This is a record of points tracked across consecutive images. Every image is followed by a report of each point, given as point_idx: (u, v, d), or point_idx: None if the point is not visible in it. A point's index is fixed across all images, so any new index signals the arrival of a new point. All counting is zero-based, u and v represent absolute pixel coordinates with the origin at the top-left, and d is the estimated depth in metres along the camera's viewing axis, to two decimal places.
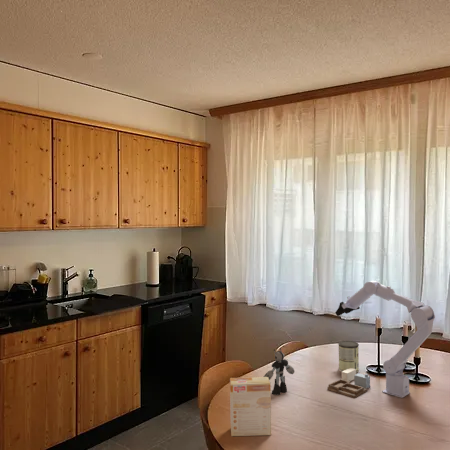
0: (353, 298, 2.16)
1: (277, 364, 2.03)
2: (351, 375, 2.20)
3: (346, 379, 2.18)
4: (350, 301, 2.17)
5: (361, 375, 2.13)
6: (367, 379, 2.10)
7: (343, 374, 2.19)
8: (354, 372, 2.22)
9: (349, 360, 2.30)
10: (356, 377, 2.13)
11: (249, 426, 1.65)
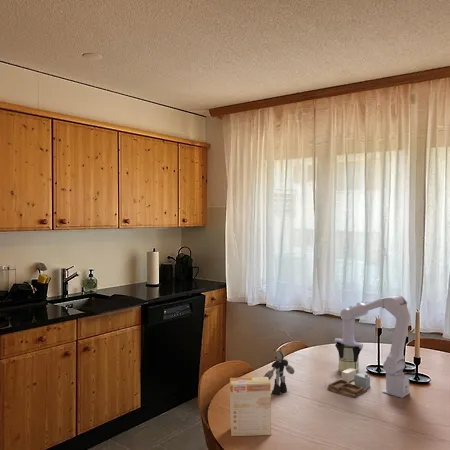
0: None
1: (277, 364, 2.03)
2: (351, 375, 2.20)
3: (346, 379, 2.18)
4: None
5: (361, 375, 2.13)
6: (367, 379, 2.10)
7: (343, 374, 2.19)
8: (354, 372, 2.22)
9: (349, 359, 2.30)
10: (356, 377, 2.13)
11: (249, 426, 1.65)
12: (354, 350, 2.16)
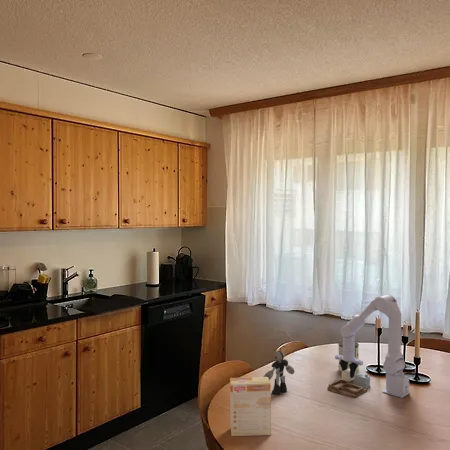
0: None
1: (277, 364, 2.03)
2: None
3: (346, 379, 2.18)
4: None
5: (361, 375, 2.13)
6: (367, 379, 2.10)
7: (343, 374, 2.19)
8: None
9: None
10: (356, 377, 2.13)
11: (249, 426, 1.65)
12: (351, 366, 2.17)
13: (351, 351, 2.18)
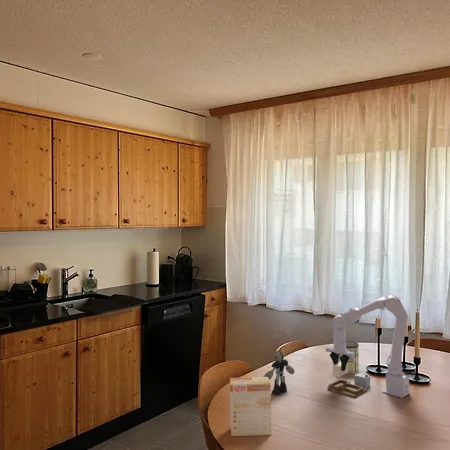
0: None
1: (277, 364, 2.03)
2: None
3: (337, 373, 2.08)
4: None
5: (361, 375, 2.13)
6: (367, 379, 2.10)
7: (334, 368, 2.09)
8: (346, 366, 2.12)
9: (349, 360, 2.30)
10: (356, 377, 2.13)
11: (249, 426, 1.65)
12: (342, 358, 2.07)
13: (342, 343, 2.08)
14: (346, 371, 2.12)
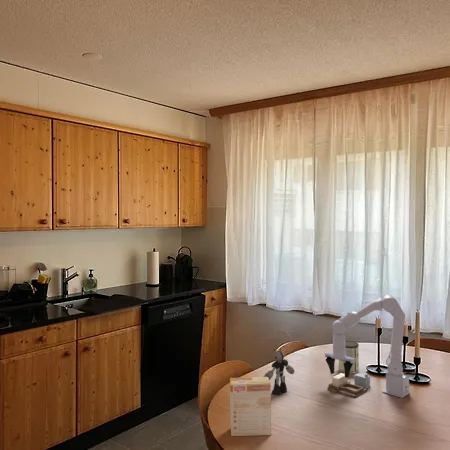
0: None
1: (277, 364, 2.03)
2: (342, 381, 2.09)
3: (337, 385, 2.07)
4: None
5: (361, 375, 2.13)
6: (367, 379, 2.10)
7: (334, 380, 2.08)
8: None
9: None
10: (356, 377, 2.13)
11: (249, 426, 1.65)
12: (345, 365, 2.05)
13: (342, 348, 2.07)
14: None
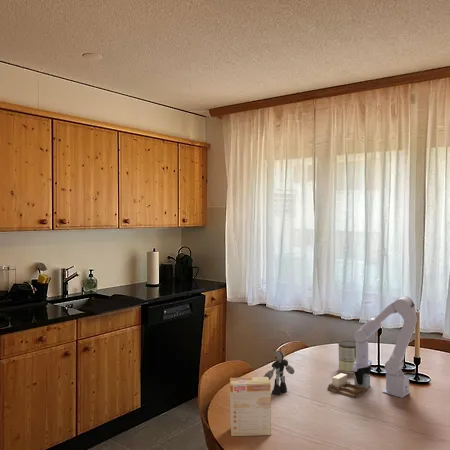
0: (357, 357, 2.11)
1: (277, 364, 2.03)
2: (342, 381, 2.09)
3: (337, 385, 2.07)
4: (357, 362, 2.11)
5: None
6: (367, 379, 2.10)
7: (334, 380, 2.08)
8: (345, 377, 2.11)
9: (349, 359, 2.30)
10: None
11: (249, 426, 1.65)
12: (370, 369, 2.13)
13: None
14: None
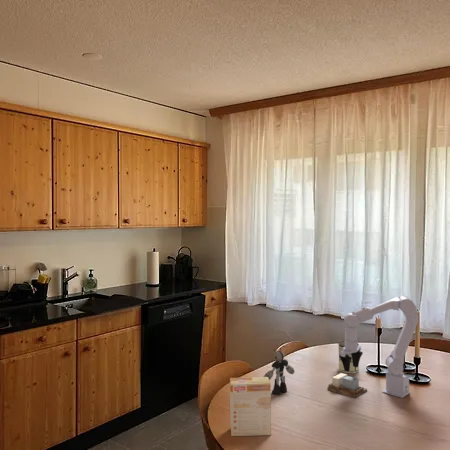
0: (346, 342, 2.07)
1: (277, 364, 2.03)
2: (342, 381, 2.09)
3: (337, 385, 2.07)
4: (346, 348, 2.06)
5: (349, 378, 2.06)
6: (355, 382, 2.03)
7: (334, 380, 2.08)
8: None
9: None
10: (345, 380, 2.06)
11: (249, 426, 1.65)
12: (361, 354, 2.09)
13: None
14: None
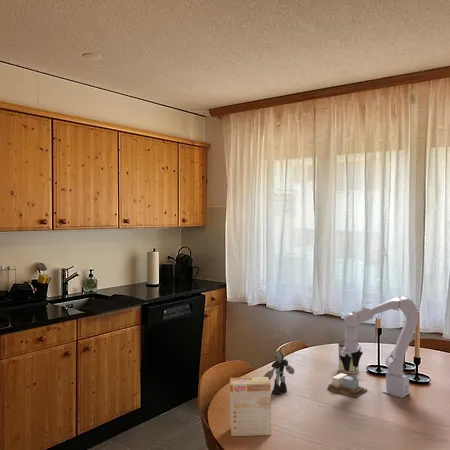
0: (346, 342, 2.07)
1: (277, 364, 2.03)
2: (342, 381, 2.09)
3: (337, 385, 2.07)
4: (346, 348, 2.06)
5: (349, 378, 2.06)
6: (355, 382, 2.03)
7: (334, 380, 2.08)
8: None
9: None
10: (345, 380, 2.06)
11: (249, 426, 1.65)
12: (361, 354, 2.09)
13: None
14: None
